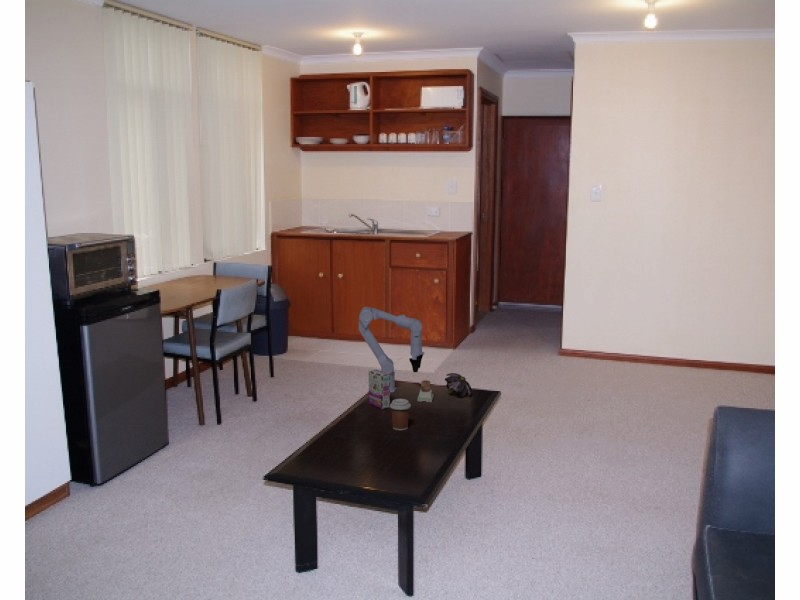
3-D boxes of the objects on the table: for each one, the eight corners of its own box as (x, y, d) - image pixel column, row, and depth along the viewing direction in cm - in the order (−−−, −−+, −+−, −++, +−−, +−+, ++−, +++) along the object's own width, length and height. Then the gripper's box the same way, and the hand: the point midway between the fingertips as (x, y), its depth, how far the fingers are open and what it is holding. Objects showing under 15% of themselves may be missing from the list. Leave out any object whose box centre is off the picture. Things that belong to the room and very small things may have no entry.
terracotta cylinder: (420, 391, 348) (420, 382, 347) (422, 389, 352) (422, 380, 351) (429, 392, 347) (429, 383, 346) (430, 389, 351) (431, 380, 350)
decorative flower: (463, 382, 345) (443, 367, 355) (453, 403, 347) (433, 388, 357) (481, 384, 355) (461, 370, 365) (472, 405, 357) (452, 390, 367)
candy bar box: (390, 407, 338) (390, 373, 335) (382, 409, 335) (381, 375, 332) (376, 401, 346) (376, 368, 344) (368, 403, 344) (368, 370, 341)
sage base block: (417, 402, 348) (417, 397, 347) (419, 397, 354) (419, 393, 354) (431, 403, 346) (431, 398, 346) (433, 398, 353) (433, 393, 353)
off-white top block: (419, 397, 347) (419, 392, 347) (420, 393, 353) (420, 388, 352) (430, 397, 347) (430, 392, 346) (431, 394, 352) (431, 389, 352)
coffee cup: (399, 422, 317) (399, 396, 315) (415, 427, 311) (415, 400, 309) (385, 428, 310) (385, 401, 308) (401, 433, 305) (401, 405, 302)
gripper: (422, 347, 354) (422, 374, 356) (426, 340, 368) (426, 366, 370) (407, 347, 355) (408, 373, 357) (412, 340, 369) (413, 366, 371)
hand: (416, 370), depth 364 cm, fingers open, 7 cm apart
